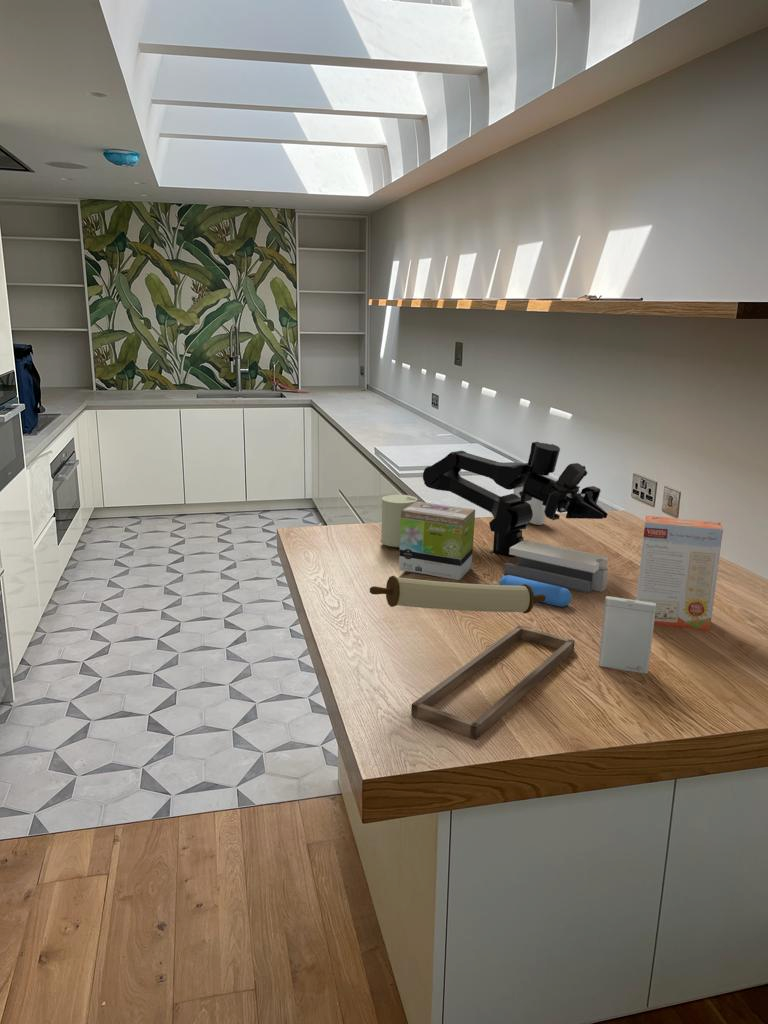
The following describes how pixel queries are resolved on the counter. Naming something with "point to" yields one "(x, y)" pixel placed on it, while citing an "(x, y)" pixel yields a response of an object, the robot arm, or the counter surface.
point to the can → (393, 517)
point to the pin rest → (460, 725)
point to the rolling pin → (458, 595)
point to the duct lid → (559, 556)
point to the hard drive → (627, 634)
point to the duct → (558, 575)
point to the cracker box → (680, 570)
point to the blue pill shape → (541, 590)
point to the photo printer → (534, 508)
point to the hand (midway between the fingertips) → (604, 516)
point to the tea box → (436, 540)
